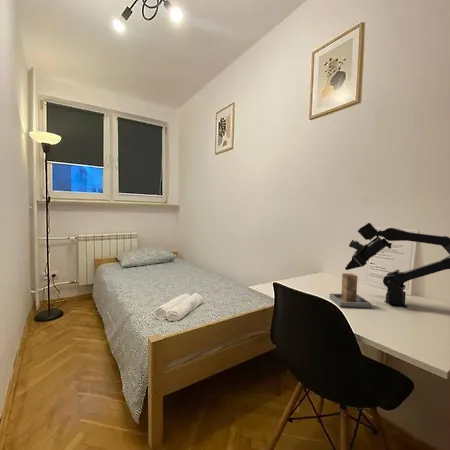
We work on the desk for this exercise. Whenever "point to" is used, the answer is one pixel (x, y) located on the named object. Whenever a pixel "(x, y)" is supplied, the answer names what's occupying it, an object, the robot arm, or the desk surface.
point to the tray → (358, 304)
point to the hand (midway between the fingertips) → (346, 267)
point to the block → (349, 287)
